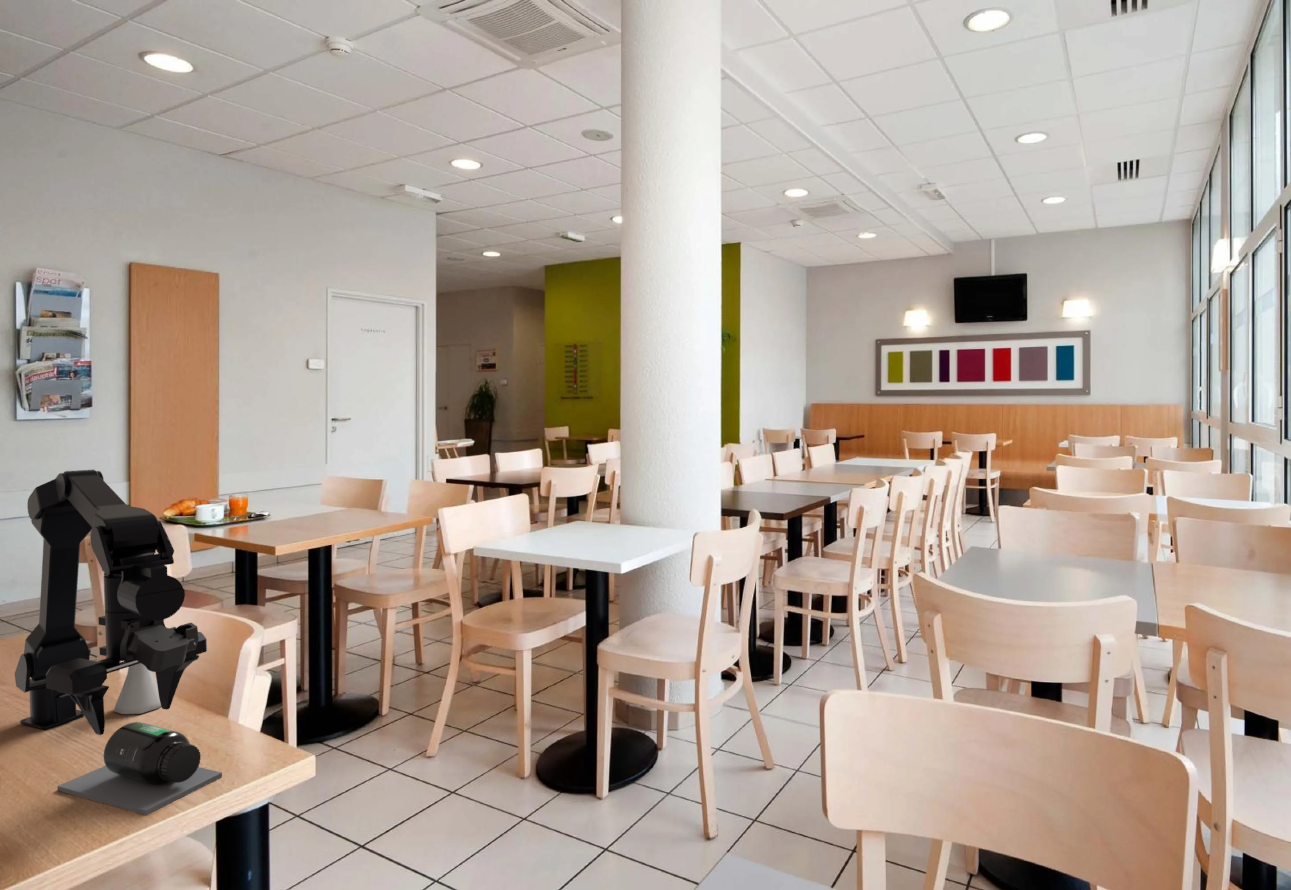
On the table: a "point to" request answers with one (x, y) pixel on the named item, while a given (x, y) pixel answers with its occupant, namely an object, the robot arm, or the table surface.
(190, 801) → the table surface
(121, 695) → the flask
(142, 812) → the placemat
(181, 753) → the supplement bottle
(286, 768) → the table surface
